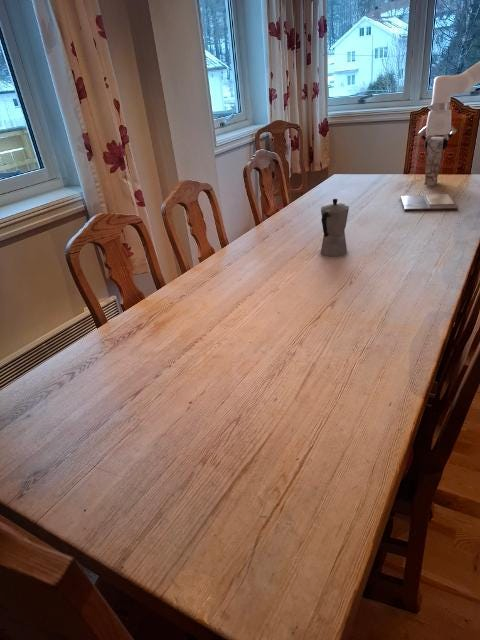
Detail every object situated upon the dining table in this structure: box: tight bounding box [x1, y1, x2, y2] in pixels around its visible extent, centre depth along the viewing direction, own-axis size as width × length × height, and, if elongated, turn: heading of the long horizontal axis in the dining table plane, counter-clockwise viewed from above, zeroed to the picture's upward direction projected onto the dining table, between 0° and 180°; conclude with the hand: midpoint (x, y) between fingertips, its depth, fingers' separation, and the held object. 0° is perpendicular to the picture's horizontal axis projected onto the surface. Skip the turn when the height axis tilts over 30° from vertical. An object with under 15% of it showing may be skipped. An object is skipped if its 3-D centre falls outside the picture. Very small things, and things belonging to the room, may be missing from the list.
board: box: [400, 193, 459, 212], centre depth 182 cm, size 20×20×1 cm
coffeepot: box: [320, 198, 350, 257], centre depth 141 cm, size 15×9×18 cm, turn 145°
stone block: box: [424, 136, 445, 186], centre depth 202 cm, size 13×7×20 cm, turn 159°
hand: (435, 149), depth 199 cm, fingers closed on stone block, 6 cm apart
